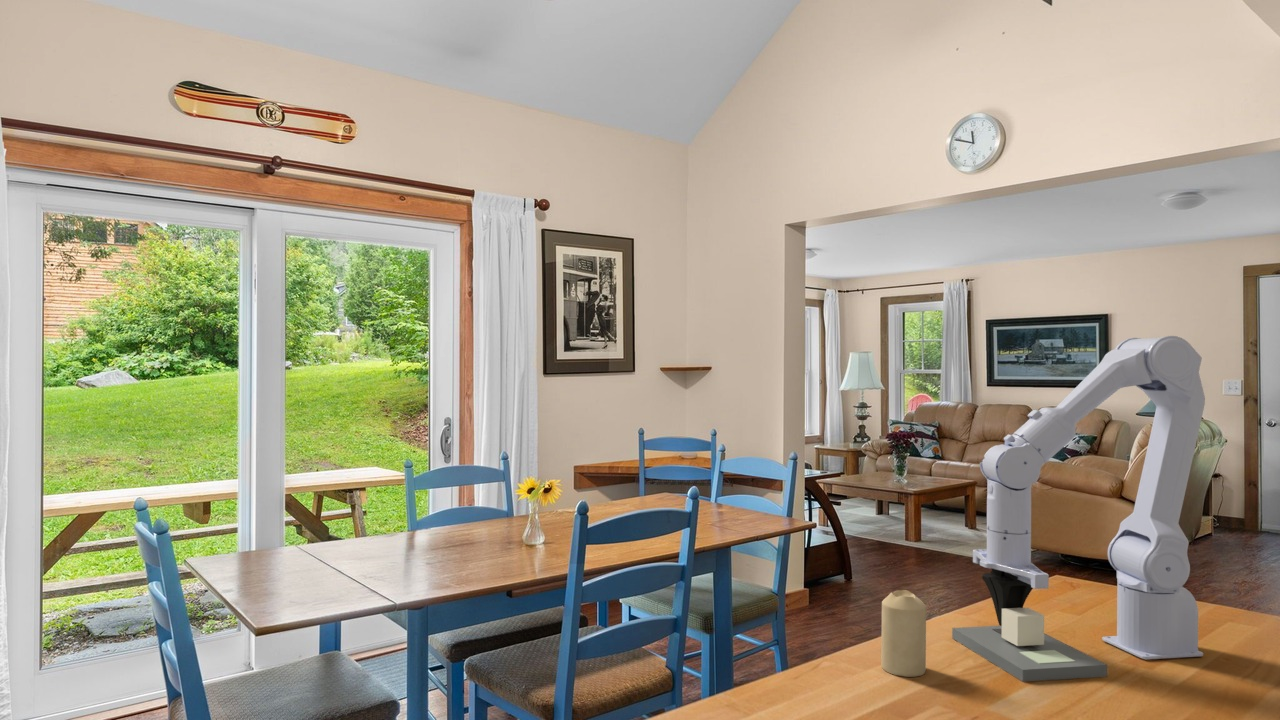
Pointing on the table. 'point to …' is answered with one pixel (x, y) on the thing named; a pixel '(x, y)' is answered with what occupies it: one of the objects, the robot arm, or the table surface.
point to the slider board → (1030, 656)
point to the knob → (1023, 626)
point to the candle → (903, 634)
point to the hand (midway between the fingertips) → (1008, 626)
